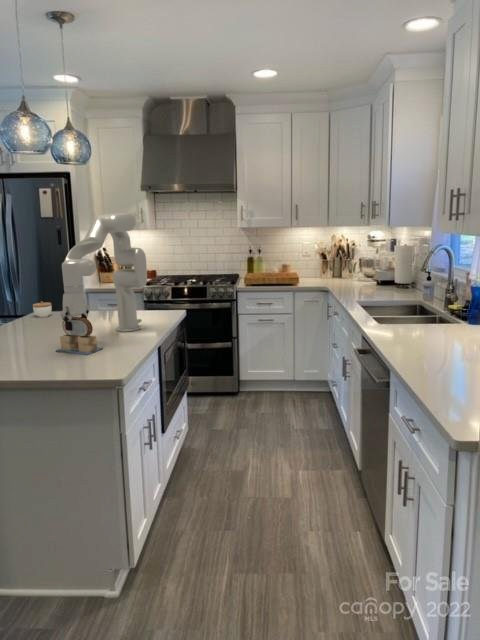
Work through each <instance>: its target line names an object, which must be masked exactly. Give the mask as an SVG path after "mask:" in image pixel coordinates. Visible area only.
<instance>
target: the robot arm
mask: <svg viewBox="0 0 480 640" xmlns="http://www.w3.org/2000/svg"><path fill="white" fill-rule="evenodd" d="M136 224H137V221H136V217H135V216H134V215H133V214H132V213H131V212H121V213H120V212H118V213H117V212H115V213H113V212H112V213H106V214H98V215H95V217H94V218H93V219H92V221H91V223H90V225H89V227H88V230H87V232H86V235H85V237H84V238H83V239H82V240H80V241H79V242H78V243H76V244H75V245H73V247H71V249H70V250H69V251H68V252H67V255H66V257H65V258H64V261H63V262H62V263H61V272H62V283H63V290H64V293H63V295H62V310H61V312H59V315H60V316H61V319H62V320H63V321H64V322H65V325H66V330H68V331H72V330H73V329H72V322H71V319H72V317H78V316H80V318H86V319H88V317H89V313H90V307H91V306H90V305H89V304H86V297H85V294H84V290H83V283H82V280H83V279H82V277H90V276H92V275H93V274H95V272H96V271H97V265H96V263H95V262H94V261H93V260H92V259H89V258H87V259H86V258H83V257H85V256H87V255H89V254H92V253H94V252H96V251H98V250H101V248H102V247H103V245H104V243H105V241H106V238H107V236H108V234H110V236H111V239H112V243H113V254H114V255H113V256H114V263H115V264H116V265H117V267H118V266H119V267H133V268H122V269H116V271H115V272H114V273H113V275H112V282H113V285H114V288H115V295H116V307H117V308H116V309H117V320H118V326H116V327H115V331H117V332H121V333H122V332H123V333H125V332H135V331H139V330H141V329H142V328H141V325H139V324H140V323H142V319H141V318H138V315H137V314H138V313H137V302H136V294H135V291H134V290H133V289H141V288H144V287H146V285H147V282H148V269H147V257H146V252H145V251H144V249H142V248H141V247H132V243H131V237H130V235H129V233H128V232H131V231H133V230H134V229H135V228H136ZM68 317H69V318H68Z"/></svg>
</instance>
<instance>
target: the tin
mask: <svg viewBox="0 0 480 640" xmlns="http://www.w3.org/2000/svg"><path fill="white" fill-rule="evenodd" d="M68 318H69V317H68ZM71 322H72V329H73V330H72V331H68V330H66V325H65V322H64V320H63V321H62V329H63V331H64V332H63V333H65V335H66V334H67V335H69V336H78V337H86V336H89V335H92V333H93V325H92V322H91V321H90V320H89V319H88V318H87V319H86V318H81V317H78V316H73V317H72V319H71Z"/></svg>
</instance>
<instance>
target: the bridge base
mask: <svg viewBox="0 0 480 640" xmlns="http://www.w3.org/2000/svg"><path fill="white" fill-rule="evenodd" d="M59 338H60V339H59V340H60V348H58V349H56V350H55V353H56V352H57V353H64V354H74V355H82V356H83V355H84V356H89V355H92V354H95V353H96V352H99V351H100V352H101V351H102V350H104V349H103V347H98V345H97V343H98V342H97V336H96V335H92V334H90V335H89V336H86V337H78V336H69V335H67V334H66V333H65V334H63V335H60V336H59Z"/></svg>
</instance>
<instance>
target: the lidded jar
mask: <svg viewBox="0 0 480 640" xmlns="http://www.w3.org/2000/svg"><path fill="white" fill-rule="evenodd" d="M43 301H44V300H43ZM43 301H42V300H41V301H40V302H37V303H34V304H32V309H33V310H32V311H33V313H34V315H35V316H37V318H47V317H49V316H50V315H51V313H52V310H53V309H52V307H53V306H52V305H53V304H52V302H48V301H47V302H45V301H44V302H43Z"/></svg>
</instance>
